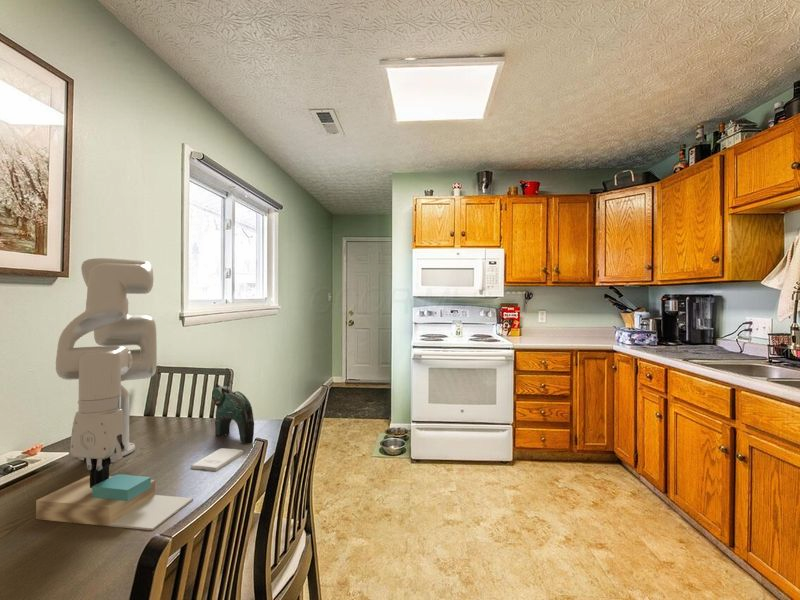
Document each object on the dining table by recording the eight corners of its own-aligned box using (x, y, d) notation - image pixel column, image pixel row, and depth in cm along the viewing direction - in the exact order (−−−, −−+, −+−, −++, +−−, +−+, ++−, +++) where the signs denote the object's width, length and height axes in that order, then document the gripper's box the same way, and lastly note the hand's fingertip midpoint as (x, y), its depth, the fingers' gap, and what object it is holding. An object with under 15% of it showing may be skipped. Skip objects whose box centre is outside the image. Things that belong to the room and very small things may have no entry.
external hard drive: (243, 455, 116) (216, 473, 104) (219, 453, 117) (190, 470, 105) (243, 449, 116) (216, 467, 104) (219, 447, 117) (190, 464, 105)
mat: (109, 526, 78) (109, 524, 78) (155, 496, 90) (155, 494, 90) (152, 530, 76) (152, 528, 76) (193, 499, 88) (193, 498, 88)
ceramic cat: (209, 434, 132) (209, 378, 132) (226, 429, 137) (227, 375, 137) (242, 447, 121) (242, 385, 121) (259, 441, 126) (259, 381, 126)
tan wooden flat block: (36, 519, 80) (36, 500, 80) (89, 491, 92) (89, 475, 92) (109, 526, 78) (109, 506, 78) (155, 496, 90) (155, 479, 90)
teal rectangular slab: (92, 497, 82) (92, 486, 82) (117, 484, 88) (117, 474, 88) (127, 501, 80) (127, 489, 80) (150, 487, 86) (150, 477, 86)
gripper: (54, 407, 83) (54, 491, 82) (113, 410, 80) (113, 496, 80) (87, 399, 90) (87, 475, 90) (142, 401, 88) (142, 480, 88)
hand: (99, 485), depth 85 cm, fingers closed
